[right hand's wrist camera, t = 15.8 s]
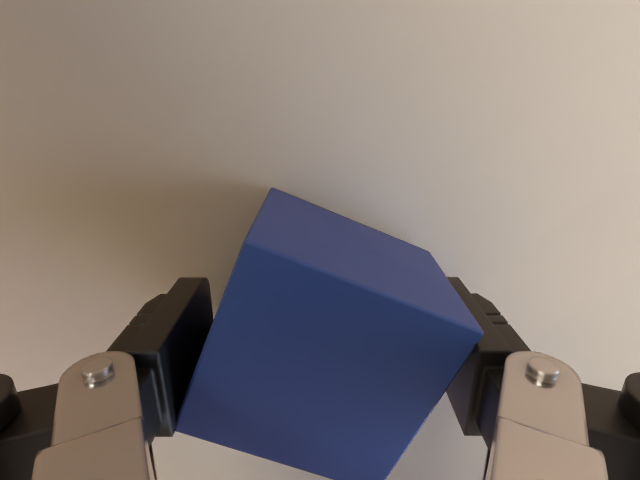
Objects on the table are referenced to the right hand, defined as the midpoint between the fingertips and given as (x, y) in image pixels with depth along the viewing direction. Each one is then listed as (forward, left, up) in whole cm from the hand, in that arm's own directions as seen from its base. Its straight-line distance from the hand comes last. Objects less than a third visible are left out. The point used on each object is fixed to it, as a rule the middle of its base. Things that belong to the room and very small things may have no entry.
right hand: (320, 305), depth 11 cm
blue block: (0, 0, -1) cm, 1 cm away
